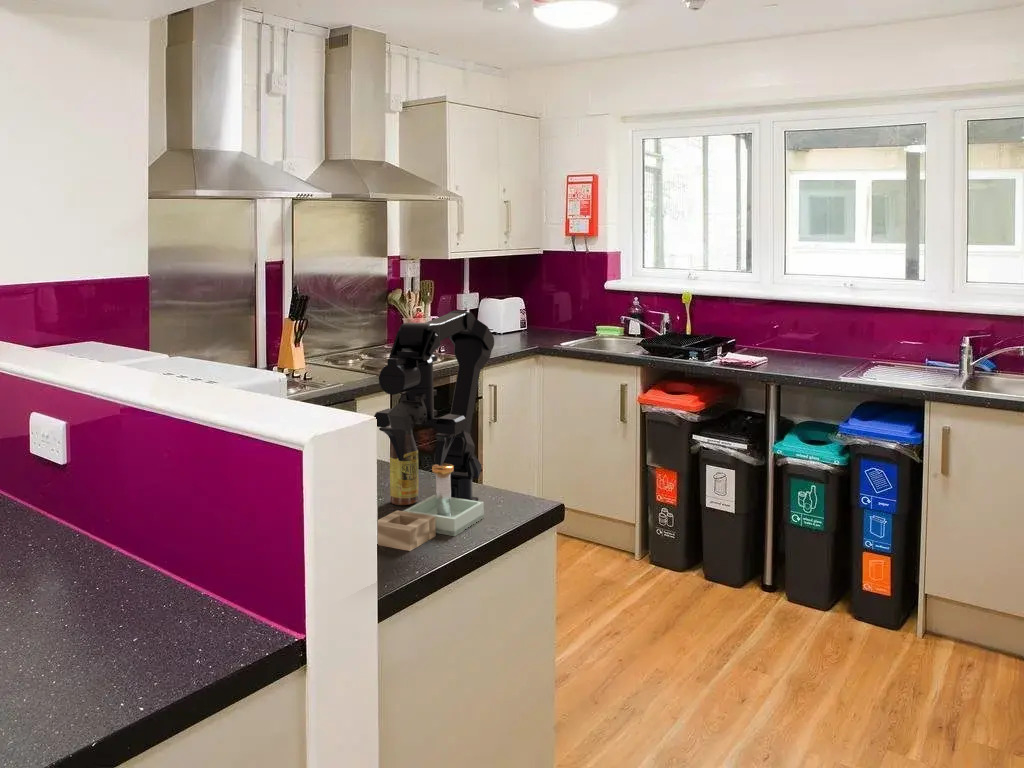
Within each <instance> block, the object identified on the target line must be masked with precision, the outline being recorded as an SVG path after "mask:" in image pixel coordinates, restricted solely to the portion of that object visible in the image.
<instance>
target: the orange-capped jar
mask: <svg viewBox="0 0 1024 768" xmlns="http://www.w3.org/2000/svg"><path fill="white" fill-rule="evenodd" d="M453 471H454V466H453V465H452V464H446V463H443V465H441V466H439V465H438V464H433V465H432V466H431V472H432V473H433V474H435V490H436V491H435V495H436V500H437V515H441V516H447V517H452V511H451V477H450V473H452V472H453Z"/></svg>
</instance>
